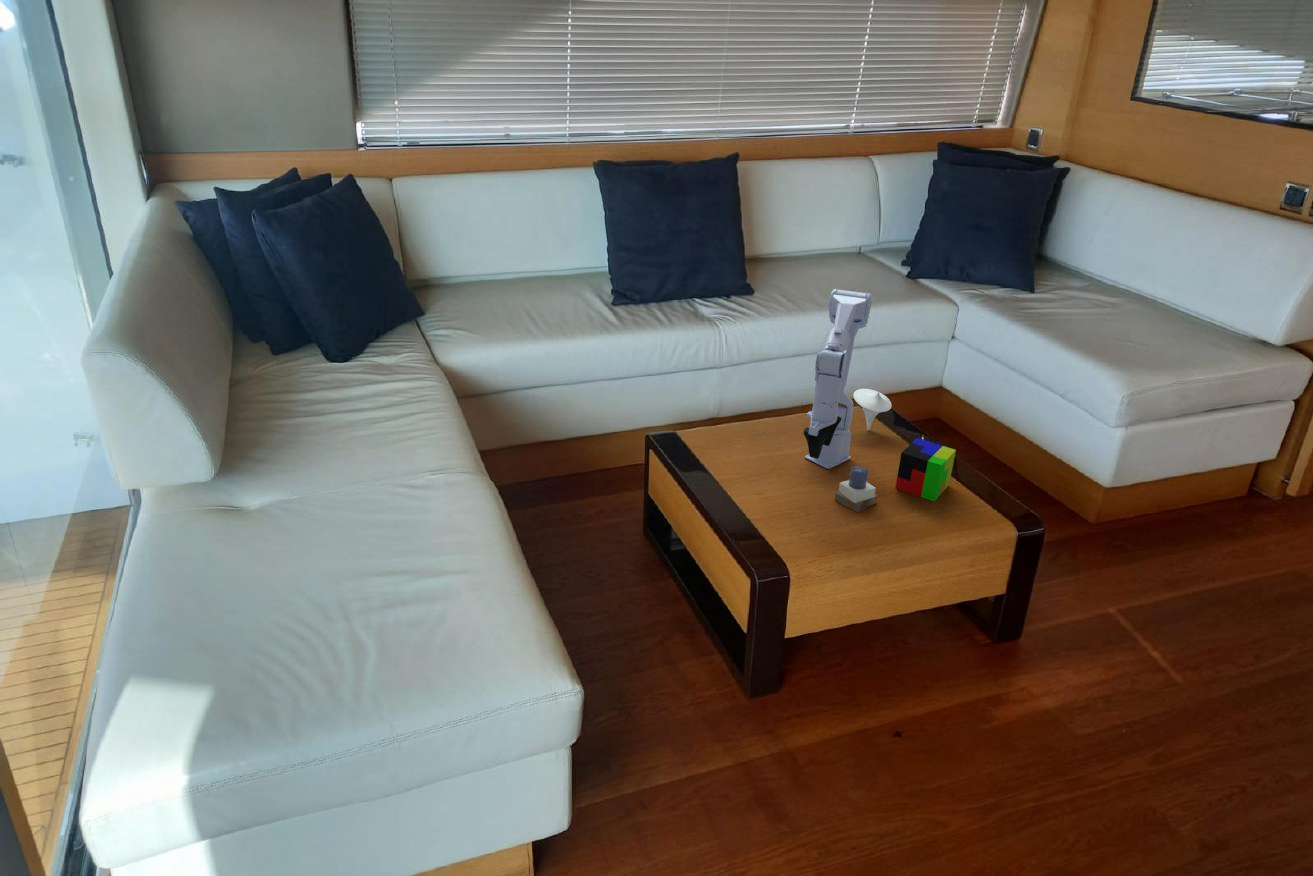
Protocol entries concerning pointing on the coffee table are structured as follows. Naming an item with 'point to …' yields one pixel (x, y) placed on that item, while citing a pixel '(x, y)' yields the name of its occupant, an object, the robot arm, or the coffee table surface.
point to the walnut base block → (855, 506)
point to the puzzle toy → (925, 469)
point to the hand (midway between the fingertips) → (819, 450)
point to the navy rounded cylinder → (858, 477)
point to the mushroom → (871, 403)
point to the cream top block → (857, 492)
